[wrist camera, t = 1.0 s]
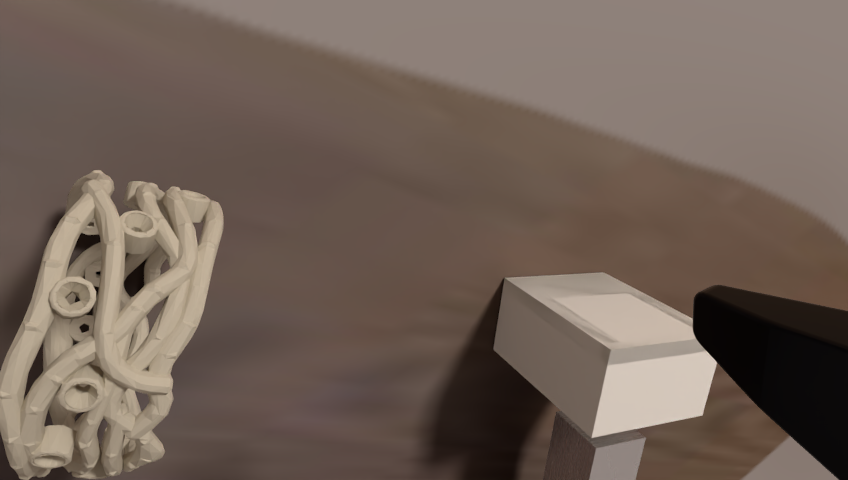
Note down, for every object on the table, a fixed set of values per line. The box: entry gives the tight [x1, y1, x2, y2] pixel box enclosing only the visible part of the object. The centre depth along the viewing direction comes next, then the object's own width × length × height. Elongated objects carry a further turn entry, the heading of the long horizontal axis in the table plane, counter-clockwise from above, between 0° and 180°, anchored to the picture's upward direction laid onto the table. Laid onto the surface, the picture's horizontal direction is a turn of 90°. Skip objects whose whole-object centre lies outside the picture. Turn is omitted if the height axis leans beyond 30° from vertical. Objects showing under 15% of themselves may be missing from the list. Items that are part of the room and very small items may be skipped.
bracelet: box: [0, 170, 224, 480], centre depth 16 cm, size 4×8×8 cm, turn 159°
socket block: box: [493, 272, 717, 438], centre depth 25 cm, size 4×6×7 cm, turn 83°
